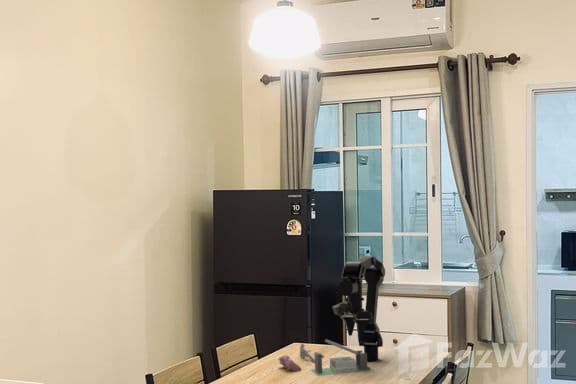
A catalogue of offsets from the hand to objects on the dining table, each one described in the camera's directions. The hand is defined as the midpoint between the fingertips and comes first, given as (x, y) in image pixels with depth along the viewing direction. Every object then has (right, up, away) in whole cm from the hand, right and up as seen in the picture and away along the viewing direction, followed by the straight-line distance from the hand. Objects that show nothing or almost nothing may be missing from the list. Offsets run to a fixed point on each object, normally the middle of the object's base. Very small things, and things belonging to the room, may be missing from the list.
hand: (355, 336), depth 254 cm
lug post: (-14, -13, -1) cm, 19 cm away
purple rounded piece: (-25, -15, +6) cm, 29 cm away
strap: (-4, -6, +2) cm, 7 cm away
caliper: (-16, -15, +19) cm, 29 cm away
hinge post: (+3, -13, +3) cm, 13 cm away
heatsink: (-4, -13, +1) cm, 14 cm away
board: (-5, -13, +1) cm, 14 cm away
